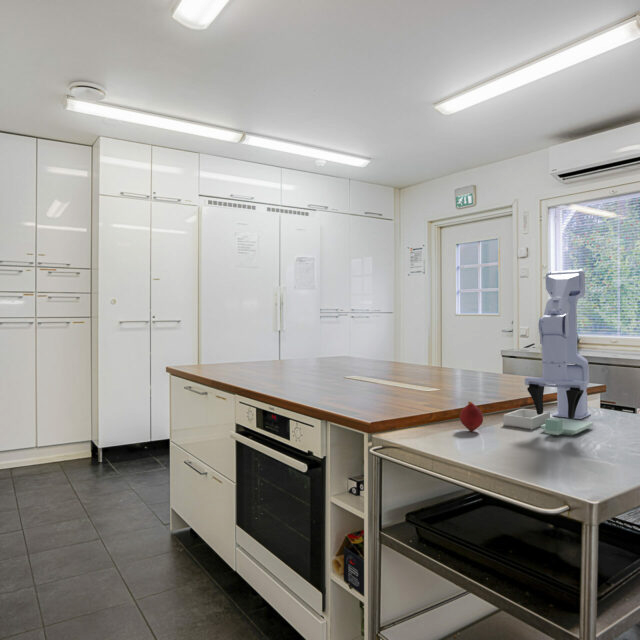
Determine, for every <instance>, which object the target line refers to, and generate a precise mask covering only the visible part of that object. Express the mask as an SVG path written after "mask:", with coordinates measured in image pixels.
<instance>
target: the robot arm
mask: <svg viewBox="0 0 640 640" xmlns="http://www.w3.org/2000/svg"><path fill="white" fill-rule="evenodd" d="M545 289H546V291H547V293H548V296H550V298H549V299H548V300H547V302H546V305H545V308H544V313H543V315H542V317H541V316H540V317H539V318H538V319H539V320H538V327H537V328H538V333H539V342H540V345H541V366H542V367H541V373H542V374H541V375H542V376H541V377H534V376H533V377H530V376H529V377H524V386H528V387H527V392H528V393H529V395H530V397H531V399H532V402H533V403H534V407H535V410H536V411H537V414H539V415H540V414H543V411H544V392H545V387H547V388H556V398H557V399H556V401H557V403H556V404H557V412H554V413H553V414H551V415H552V416H553V417H558V418H561V417H562V418H566V419H570V420H575V419H576V420H581V419H585V418H586V417H588V416H591V415H592V412H588V407H589V406H588V393H587V390H588V385H589V384H590V368H589V360H588V359H587V358H586V357H584V356H583V355H581V354H580V353H579V352H578V319H577V318H578V317H577V316H578V314H577V310H578V309H577V308H578V307H577V304H578V301H579V299H581V298H584V297H585V294H586V274H585V270H583V269H582V268H580V269H573V270H572V269H571V270H557V271H547V273H546V274H545Z"/></svg>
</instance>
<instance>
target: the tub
mask: <svg viewBox="0 0 640 640" xmlns="http://www.w3.org/2000/svg"><path fill="white" fill-rule="evenodd" d="M502 418H503V419H502V420H503V426H506V427H511V428H512V427H513V428H518V429H523V430H524V429H525V430H531V431H532V430H535V429H538V428H541V425H543V424H545V419H548V418H551V412H550V411H544V410H543V414H540V415H539V414H537V411H536V409H528V408H520V409H517V410H514V411H511V412H507V413H504V414H503V417H502Z"/></svg>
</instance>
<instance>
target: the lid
mask: <svg viewBox="0 0 640 640" xmlns="http://www.w3.org/2000/svg"><path fill="white" fill-rule="evenodd" d="M593 426H594V422H593V421H592V422H591V421H584V420H579V419H576V420H575V419H570V418H563V417H562V418H561V417H558V418H556V417H555V418H554V417H550V418H548V419H545V424H543V425H541V426H540V429H541V430H544V434H548V435H554V436H555V435H556V436H559V435H565V436H574V435H576V434H579V433H581V432H582V431H585V430H586V429H589V428H591V427H593Z"/></svg>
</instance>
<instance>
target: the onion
mask: <svg viewBox="0 0 640 640" xmlns="http://www.w3.org/2000/svg"><path fill="white" fill-rule="evenodd" d="M459 418H460V423H461V424H462V426H464V427H465V428H466V429H467V430H468V431H469V432H474V431H475V430H477V429H478V428H479V427H481V425H482V423H483V421H484V415H483V412H482V411H481V409H480V408H479V407H478V406H476V405H475V404H474V403H473V402H472V401H470V400H469V401H468V402H467V405H465V407H463V408H462V409H461V412H460V413H459Z"/></svg>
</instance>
